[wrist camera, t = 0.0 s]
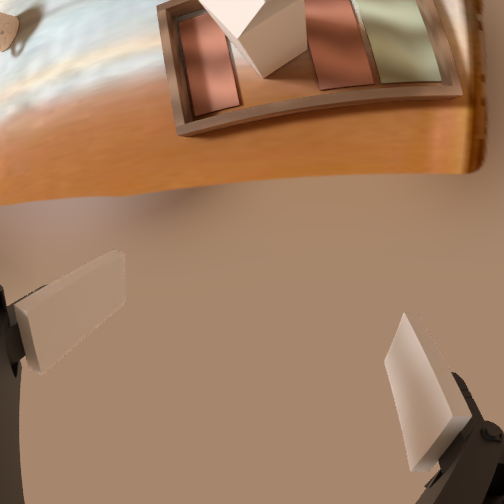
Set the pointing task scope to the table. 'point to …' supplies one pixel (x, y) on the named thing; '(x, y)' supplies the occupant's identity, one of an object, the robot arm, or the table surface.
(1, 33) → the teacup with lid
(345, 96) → the box
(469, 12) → the table surface
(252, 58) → the milk carton
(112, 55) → the table surface
